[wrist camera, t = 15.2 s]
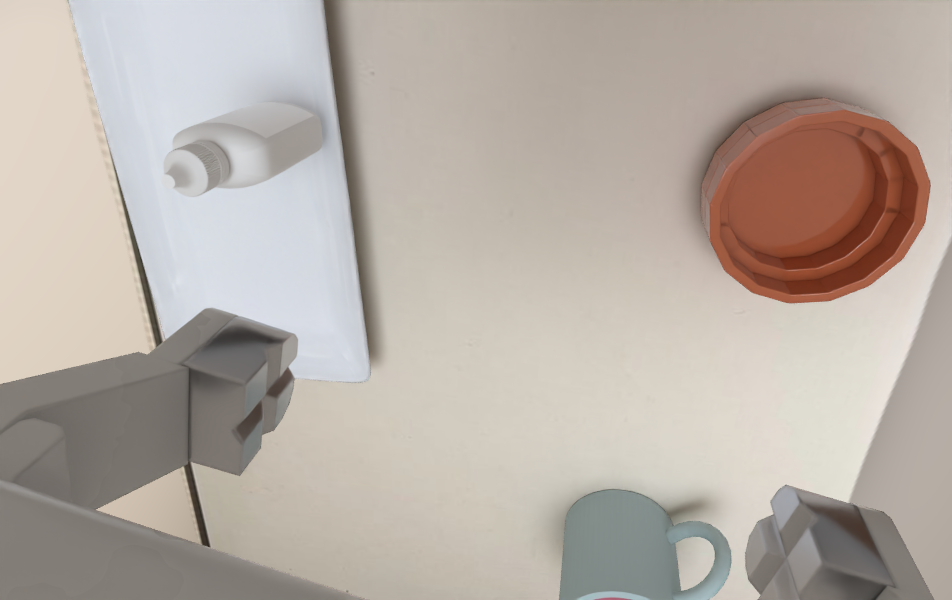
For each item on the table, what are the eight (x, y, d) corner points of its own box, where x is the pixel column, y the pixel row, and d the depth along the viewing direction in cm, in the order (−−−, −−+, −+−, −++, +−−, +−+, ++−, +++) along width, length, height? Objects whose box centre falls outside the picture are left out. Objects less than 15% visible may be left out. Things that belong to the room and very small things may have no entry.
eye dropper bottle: (256, 72, 39) (126, 108, 28) (335, 123, 40) (235, 176, 29) (233, 133, 41) (103, 186, 31) (308, 180, 42) (206, 248, 31)
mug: (600, 580, 58) (598, 687, 49) (545, 511, 55) (532, 611, 47) (745, 534, 52) (772, 646, 44) (691, 455, 50) (708, 557, 41)
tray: (334, -88, 37) (310, -94, 34) (384, 364, 51) (370, 388, 48) (84, -75, 40) (41, -79, 37) (196, 349, 54) (171, 371, 51)
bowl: (744, 75, 37) (760, 87, 33) (935, 126, 37) (974, 144, 33) (673, 245, 43) (680, 272, 39) (838, 292, 42) (862, 325, 38)
